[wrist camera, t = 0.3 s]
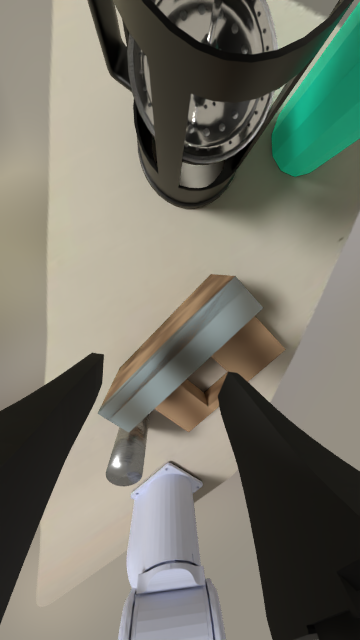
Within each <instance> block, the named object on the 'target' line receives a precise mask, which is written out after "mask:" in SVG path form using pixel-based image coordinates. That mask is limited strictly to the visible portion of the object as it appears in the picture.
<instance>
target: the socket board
mask: <svg viewBox="0 0 360 640" xmlns="http://www.w3.org/2000/svg"><path fill="white" fill-rule="evenodd" d="M262 309H263V307H262V306H261V305H260V304H259V302H258V301H257V300H256V299H255V298H254V297H253V296H252V294H251V293H250V292H249V291H248V290H247V289H246V288H245V287H244V285H243V284H242V283H241V282H240V281H239V280H238V279H237V277H236V276H227V275H213V274H211V275H210V276H209V277H208V278H207V279H206V280H205V281H204V282H203V283H202V284H201V285H200V286H199V287H198V288H197V289H196V290H195V291H194V292H193V293H192V294H191V295H190V296H189V297H188V298H187V299H186V300H185V301H184V302H183V303H182V304H181V306H180V307H179V308H178V309H177V310H176V311H175V312H174V313H173V314H172V315H171V316H170V317H169V318H168V319H167V320H166V321H165V322H164V323H163V324H162V325H161V326H160V327H159V328H158V329H157V330H156V331H155V332H154V333H153V334H152V335H151V336H150V337H149V339H148V340H147V341H146V342H145V343H144V344H143V345H142V346H141V347H140V348H139V349H138V350H137V351H136V352H135V353H134V354H133V355H132V356H131V357H130V358H129V359H128V360H127V361H126V362H125V363H124V364H123V365H122V366H121V367H120V369H119V371H118V373H117V375H116V377H115V379H114V381H113V383H112V385H111V387H110V389H109V391H108V393H107V395H106V397H105V399H104V401H103V404H102V406H101V408H100V410H99V412H98V414H99V415H101V416H102V417H104V418H106V419H107V420H109V421H111V422H112V423H114V424H116V425H117V426H119V427H120V428H122V429H124V430H125V431H127V432H130V431H131V430H132V429H133V428H134V427H135V426H136V425H137V424H139V423H140V422H141V421H142V420H143V419H144V418H145V417H146V416H147V415H148V414H149V413H150V412H151V411H153V410H154V409H155V410H157V411H158V412H160V413H161V414H163V415H164V416H166V417H167V418H168V419H170V420H171V421H173V422H174V423H176V424H177V425H179V426H180V427H182V428H183V429H184V430H186V431H187V432H190V431H191V430H192V429H193V428H194V427H195V426H197V425H198V424H199V423H200V422H201V421H202V420H204V419H205V418H206V417H207V416H208V415H209V414H211V413H212V412H213V411H214V410H215V409H217V408H218V407H219V401H218V394H219V392H220V389H221V387H222V385H223V382H224V380H225V378H226V375H227V373H228V372H236V373H238V374H240V375H241V376H242V377H243V378H244V379H245V380H246V381H247V382H248V381H249V380H250V379H252V378H253V377H254V376H255V375H256V374H258V373H259V372H260V371H261V370H262V369H263V368H265V367H266V366H267V365H268V364H269V363H270V362H272V361H273V360H274V359H275V358H276V357H277V356H279V355H280V354H281V353H282V352H283V351H284V350H286V349H285V348H284V347H283V346H282V345H281V344H280V343H279V342H278V341H277V339H276V338H275V337H274V336H273V335H272V334H271V333H270V332H269V331H268V330H267V329H266V327H265V326H264V325H263V324H262V323H261V322H260V321H259V320H258V319H257V318H256V317H255V315H256V314H257V313H258V312H259V311H261V310H262ZM210 357H212V358H213V359H214V360H215V361H216V362H218V363H219V364H220V365H221V366H222V367H223V368H224V369H225V370H226V371H228V372H227V373H226V374H225V375H223V376H222V377H221V378H220V379H219V380H218V381H217V382H216V383H214V384H213V385H212V386H211V387H210V388H209V389H208V390H207V391H205V392H202V391H201V390H200V389H199V388H197V387H196V386H195V385H194V384H192V383H191V382H190V381H189V380H187V378H188V377H189V376H190V375H191V374H192V373H194V372H195V371H196V370H197V369H198V368H199V367H200V366H201V365H202V364H203V363H204V362H205V361H207V360H208V359H209V358H210Z"/></svg>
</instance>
